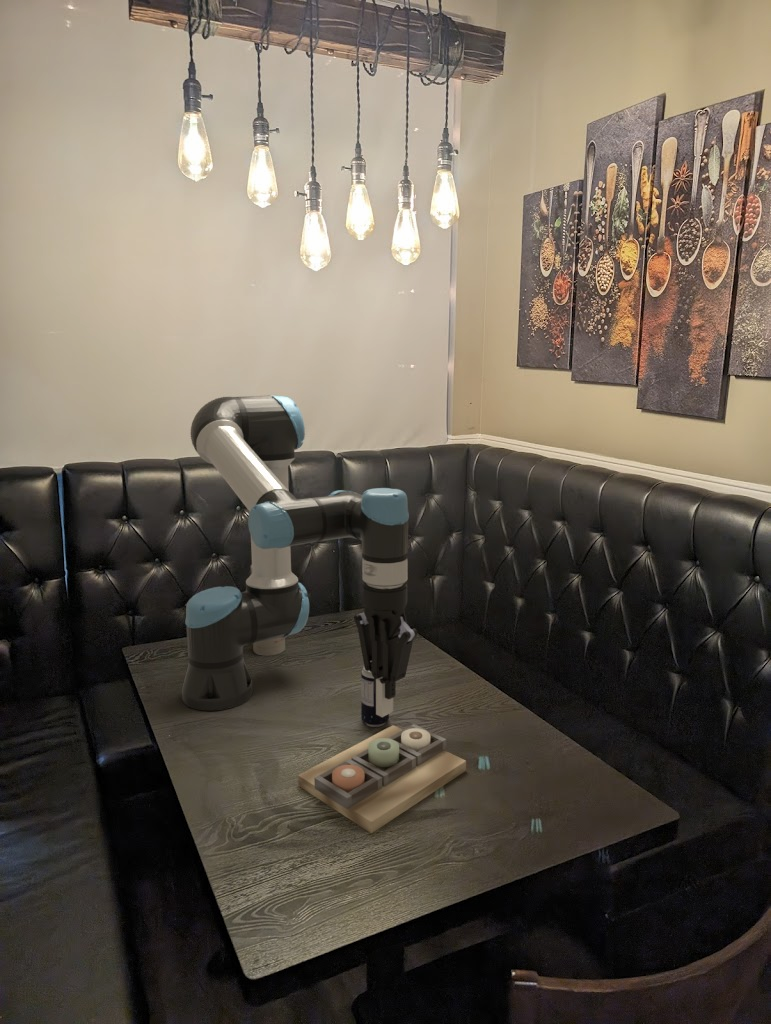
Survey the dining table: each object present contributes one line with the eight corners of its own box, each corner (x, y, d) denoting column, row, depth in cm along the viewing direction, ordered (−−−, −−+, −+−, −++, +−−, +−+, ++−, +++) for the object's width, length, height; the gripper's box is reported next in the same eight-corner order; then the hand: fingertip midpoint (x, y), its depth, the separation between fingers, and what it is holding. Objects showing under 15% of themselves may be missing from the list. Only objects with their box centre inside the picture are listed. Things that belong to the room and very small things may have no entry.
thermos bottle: (291, 649, 178) (288, 543, 172) (264, 658, 173) (261, 549, 167) (273, 640, 184) (270, 537, 178) (247, 648, 179) (243, 542, 173)
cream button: (395, 747, 129) (395, 734, 129) (414, 736, 133) (414, 724, 133) (416, 759, 126) (417, 745, 125) (436, 747, 129) (436, 734, 129)
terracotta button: (325, 786, 117) (325, 772, 117) (349, 773, 121) (349, 759, 121) (347, 800, 114) (347, 786, 113) (371, 786, 117) (371, 772, 117)
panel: (295, 786, 121) (295, 765, 120) (394, 733, 139) (395, 714, 138) (369, 834, 109) (369, 812, 108) (467, 769, 127) (468, 749, 126)
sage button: (362, 758, 123) (361, 745, 122) (383, 746, 127) (383, 733, 126) (384, 771, 119) (384, 757, 119) (405, 758, 123) (405, 745, 123)
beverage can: (386, 730, 140) (386, 674, 137) (358, 727, 141) (358, 671, 138) (391, 716, 145) (391, 662, 143) (364, 713, 146) (364, 660, 144)
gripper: (341, 578, 118) (343, 707, 123) (398, 596, 109) (397, 734, 114) (373, 569, 123) (373, 693, 128) (429, 585, 114) (427, 718, 119)
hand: (384, 712), depth 121 cm, fingers closed
